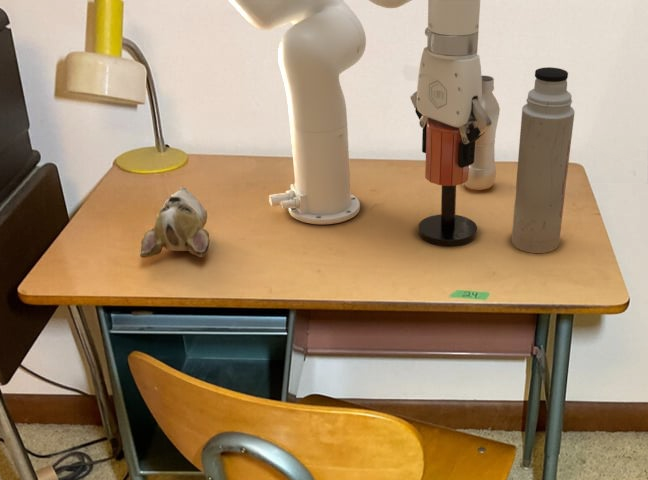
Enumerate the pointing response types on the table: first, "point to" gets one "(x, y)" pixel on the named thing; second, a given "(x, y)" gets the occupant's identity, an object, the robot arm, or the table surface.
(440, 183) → the cup
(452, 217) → the bowl
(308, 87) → the robot arm
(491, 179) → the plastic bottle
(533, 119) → the thermos bottle
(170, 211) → the ceramic sculpture
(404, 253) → the table surface
